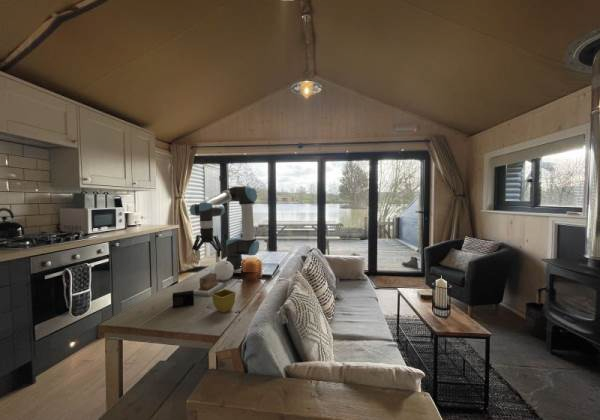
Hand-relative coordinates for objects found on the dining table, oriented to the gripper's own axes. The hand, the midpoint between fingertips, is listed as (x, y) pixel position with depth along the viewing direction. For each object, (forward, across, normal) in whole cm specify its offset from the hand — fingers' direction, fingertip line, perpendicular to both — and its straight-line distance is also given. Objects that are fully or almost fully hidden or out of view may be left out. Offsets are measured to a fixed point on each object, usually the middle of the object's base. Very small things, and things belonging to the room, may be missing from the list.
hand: (208, 261), depth 169 cm
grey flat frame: (+18, 0, 0) cm, 18 cm away
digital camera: (+18, +1, -25) cm, 30 cm away
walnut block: (+17, 0, 0) cm, 17 cm away
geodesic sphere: (+18, -1, +20) cm, 27 cm away
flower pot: (+18, +25, -24) cm, 39 cm away
